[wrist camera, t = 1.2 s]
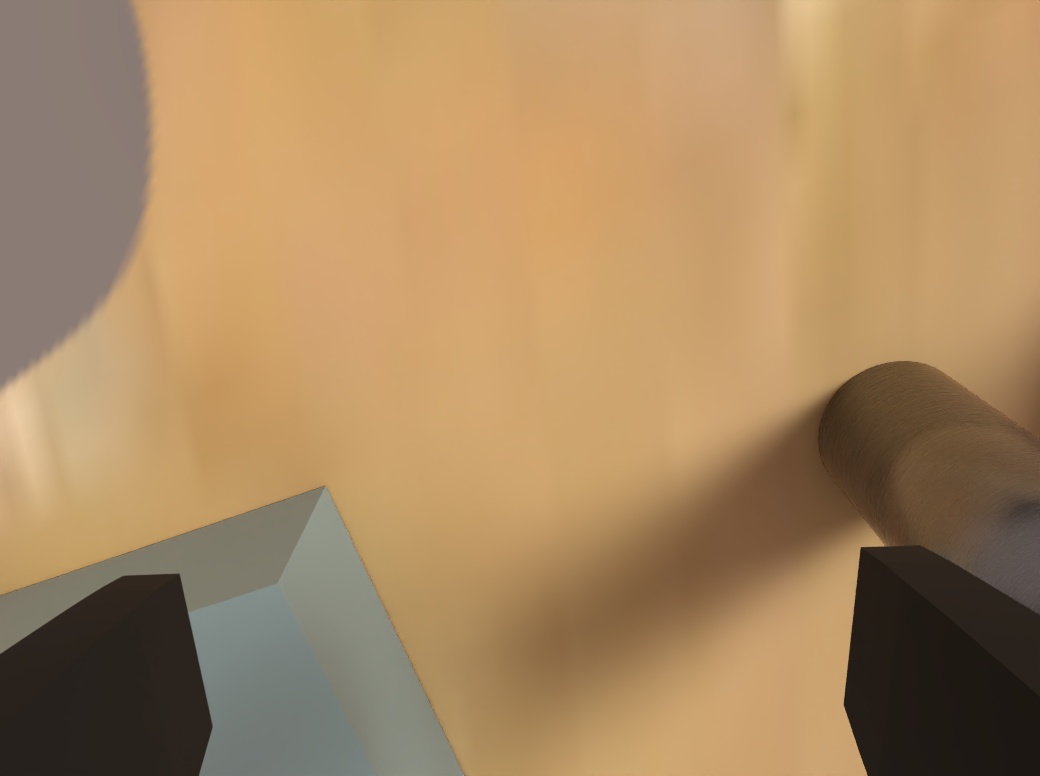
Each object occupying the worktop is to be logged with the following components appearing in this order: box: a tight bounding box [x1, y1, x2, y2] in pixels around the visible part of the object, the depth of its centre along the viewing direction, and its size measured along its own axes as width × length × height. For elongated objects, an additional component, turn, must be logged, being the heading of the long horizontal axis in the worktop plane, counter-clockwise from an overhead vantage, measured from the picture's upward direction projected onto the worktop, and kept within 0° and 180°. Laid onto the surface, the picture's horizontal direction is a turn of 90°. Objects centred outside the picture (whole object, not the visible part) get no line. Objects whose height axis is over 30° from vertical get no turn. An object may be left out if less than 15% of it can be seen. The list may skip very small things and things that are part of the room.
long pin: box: [819, 361, 1040, 615], centre depth 15 cm, size 3×3×9 cm
